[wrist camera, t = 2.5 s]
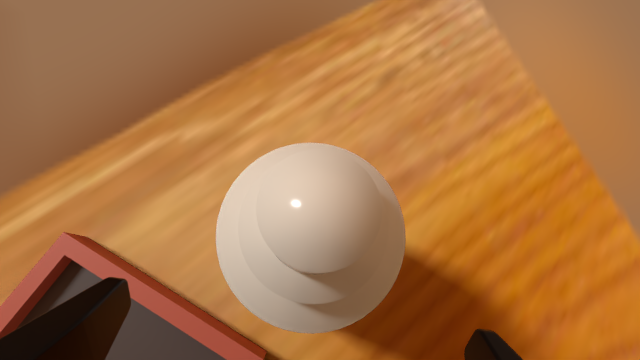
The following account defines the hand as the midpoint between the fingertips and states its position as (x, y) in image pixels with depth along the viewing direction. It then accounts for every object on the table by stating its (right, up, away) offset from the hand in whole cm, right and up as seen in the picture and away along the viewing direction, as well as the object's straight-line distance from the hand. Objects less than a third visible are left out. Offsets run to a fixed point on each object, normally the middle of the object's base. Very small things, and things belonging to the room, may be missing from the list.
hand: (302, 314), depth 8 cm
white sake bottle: (0, -1, +10) cm, 10 cm away
